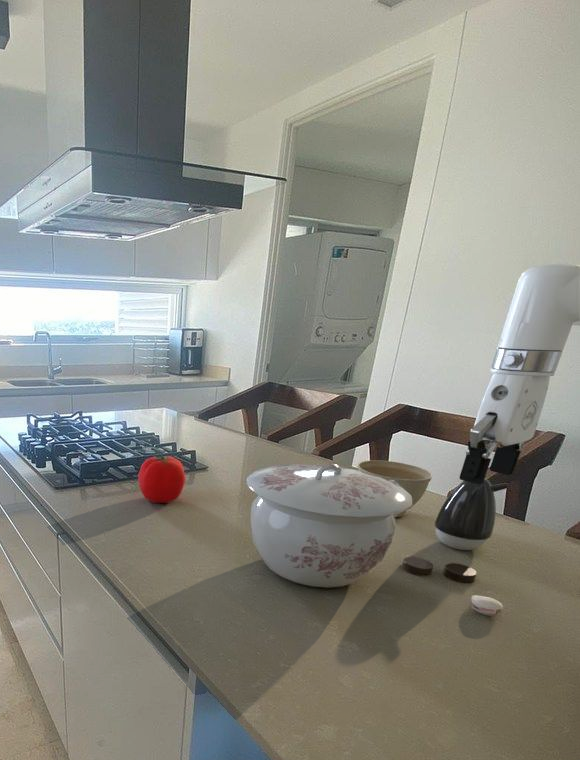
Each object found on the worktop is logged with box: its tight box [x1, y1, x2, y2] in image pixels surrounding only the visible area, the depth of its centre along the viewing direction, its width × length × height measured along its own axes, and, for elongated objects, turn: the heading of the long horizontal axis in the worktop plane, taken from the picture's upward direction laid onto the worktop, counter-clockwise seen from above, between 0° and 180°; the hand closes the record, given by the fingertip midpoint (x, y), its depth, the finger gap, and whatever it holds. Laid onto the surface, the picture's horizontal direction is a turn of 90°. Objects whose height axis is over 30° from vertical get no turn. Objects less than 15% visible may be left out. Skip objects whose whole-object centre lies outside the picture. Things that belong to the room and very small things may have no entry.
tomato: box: [137, 454, 187, 504], centre depth 124 cm, size 12×13×12 cm
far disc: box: [401, 556, 434, 577], centre depth 93 cm, size 5×5×2 cm
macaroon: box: [470, 594, 504, 616], centre depth 80 cm, size 4×5×2 cm
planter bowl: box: [357, 460, 433, 518], centre depth 119 cm, size 16×16×11 cm
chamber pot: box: [246, 463, 413, 589], centre depth 88 cm, size 28×28×21 cm
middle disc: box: [442, 562, 477, 584], centre depth 91 cm, size 5×5×2 cm
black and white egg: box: [434, 478, 509, 551], centre depth 101 cm, size 10×10×15 cm
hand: (486, 477), depth 77 cm, fingers open, 9 cm apart
